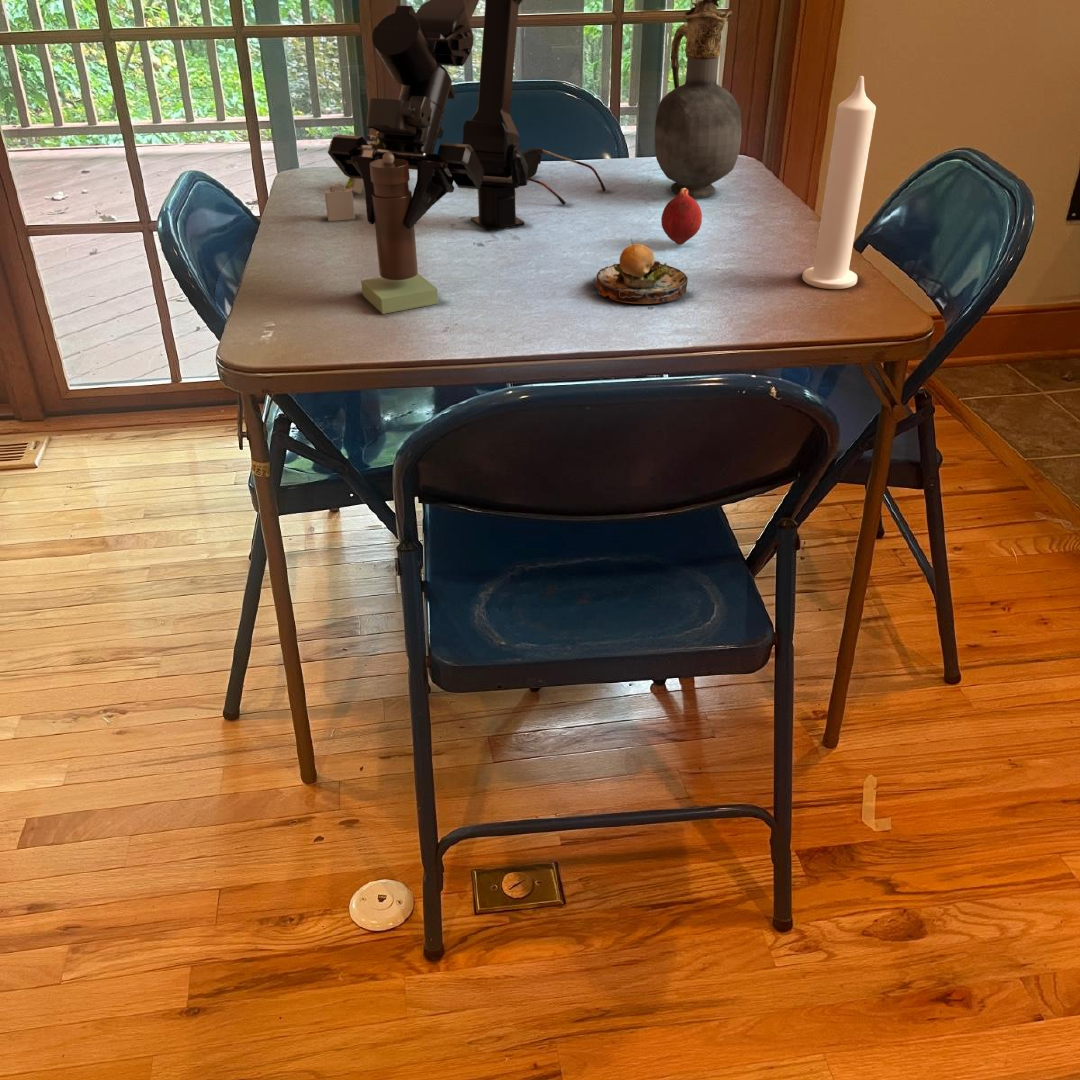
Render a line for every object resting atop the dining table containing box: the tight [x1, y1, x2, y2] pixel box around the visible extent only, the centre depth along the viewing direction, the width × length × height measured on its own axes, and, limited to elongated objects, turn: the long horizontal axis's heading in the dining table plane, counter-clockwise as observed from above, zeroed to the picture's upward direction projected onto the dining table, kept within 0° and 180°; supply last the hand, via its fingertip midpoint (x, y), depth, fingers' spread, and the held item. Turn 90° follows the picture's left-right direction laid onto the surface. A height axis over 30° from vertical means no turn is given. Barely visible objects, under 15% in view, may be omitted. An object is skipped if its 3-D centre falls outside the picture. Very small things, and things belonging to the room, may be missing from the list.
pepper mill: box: [369, 152, 419, 280], centre depth 122 cm, size 5×5×15 cm
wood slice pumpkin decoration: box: [594, 238, 689, 305], centre depth 129 cm, size 12×12×8 cm
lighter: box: [324, 178, 364, 222], centre depth 156 cm, size 7×2×8 cm, turn 106°
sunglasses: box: [522, 147, 607, 206], centre depth 170 cm, size 14×16×5 cm
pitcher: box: [654, 0, 743, 199], centre depth 162 cm, size 11×19×30 cm, turn 17°
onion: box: [660, 188, 703, 246], centre depth 144 cm, size 6×6×8 cm
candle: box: [801, 75, 877, 290], centre depth 126 cm, size 7×7×25 cm
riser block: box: [360, 273, 439, 315], centre depth 128 cm, size 8×8×2 cm
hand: (388, 224), depth 122 cm, fingers closed on pepper mill, 5 cm apart
